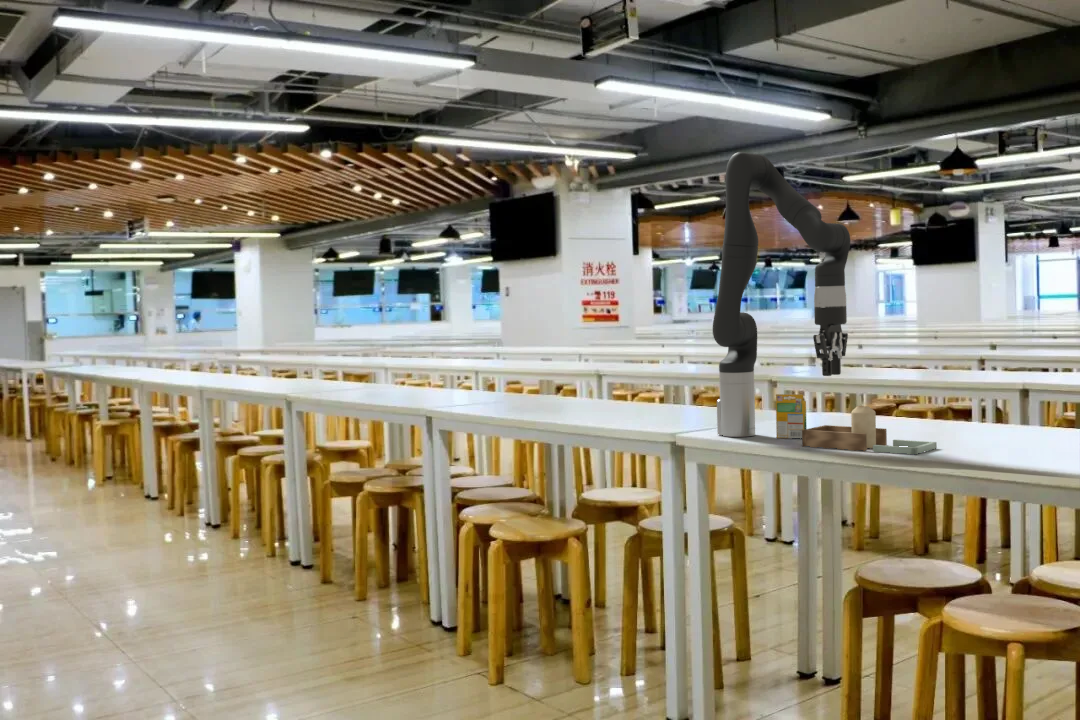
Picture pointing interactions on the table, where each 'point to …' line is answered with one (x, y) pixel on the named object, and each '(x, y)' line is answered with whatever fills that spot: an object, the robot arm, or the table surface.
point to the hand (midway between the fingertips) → (831, 374)
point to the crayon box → (790, 416)
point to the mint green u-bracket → (912, 448)
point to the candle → (864, 423)
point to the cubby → (840, 437)
